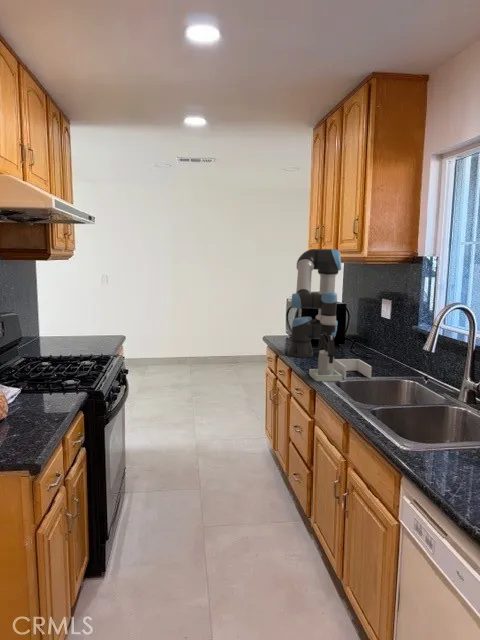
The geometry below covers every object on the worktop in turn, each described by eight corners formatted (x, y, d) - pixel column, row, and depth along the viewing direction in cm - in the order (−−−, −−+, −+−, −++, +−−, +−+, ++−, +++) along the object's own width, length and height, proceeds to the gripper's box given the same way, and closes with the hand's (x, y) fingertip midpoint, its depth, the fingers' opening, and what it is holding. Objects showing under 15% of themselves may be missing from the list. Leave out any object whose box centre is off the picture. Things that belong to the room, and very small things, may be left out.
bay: (333, 370, 252) (333, 359, 251) (358, 370, 254) (359, 359, 253) (344, 378, 235) (344, 366, 234) (370, 378, 237) (371, 366, 236)
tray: (308, 374, 241) (309, 369, 241) (333, 374, 243) (333, 369, 243) (316, 381, 229) (316, 375, 228) (342, 381, 230) (342, 375, 230)
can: (332, 378, 231) (334, 354, 230) (317, 377, 233) (318, 353, 231) (332, 374, 239) (334, 351, 237) (317, 373, 240) (319, 350, 239)
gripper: (313, 319, 244) (311, 360, 247) (328, 328, 219) (326, 372, 223) (327, 319, 245) (325, 360, 248) (343, 328, 220) (341, 372, 224)
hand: (325, 366), depth 235 cm, fingers open, 13 cm apart
